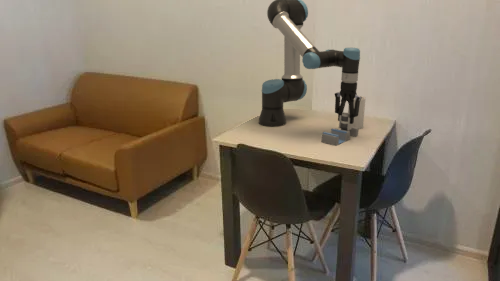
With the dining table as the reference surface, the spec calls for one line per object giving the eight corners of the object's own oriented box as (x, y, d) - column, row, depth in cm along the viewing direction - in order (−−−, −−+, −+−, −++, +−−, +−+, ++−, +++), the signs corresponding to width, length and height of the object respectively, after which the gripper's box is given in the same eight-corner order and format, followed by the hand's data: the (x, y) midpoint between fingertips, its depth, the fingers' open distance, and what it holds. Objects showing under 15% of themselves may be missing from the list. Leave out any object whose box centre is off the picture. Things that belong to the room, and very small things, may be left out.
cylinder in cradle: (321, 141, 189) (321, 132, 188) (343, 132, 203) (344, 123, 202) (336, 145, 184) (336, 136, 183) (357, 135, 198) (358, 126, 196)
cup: (363, 129, 208) (365, 99, 203) (347, 128, 210) (349, 98, 205) (362, 125, 216) (364, 95, 211) (346, 124, 217) (348, 95, 212)
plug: (339, 129, 196) (340, 113, 194) (343, 127, 199) (344, 112, 197) (346, 131, 194) (347, 115, 191) (350, 129, 197) (352, 113, 194)
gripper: (329, 80, 192) (325, 126, 199) (361, 85, 180) (356, 134, 188) (337, 78, 197) (334, 123, 205) (369, 82, 186) (364, 130, 193)
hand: (344, 128), depth 196 cm, fingers closed on plug, 4 cm apart
